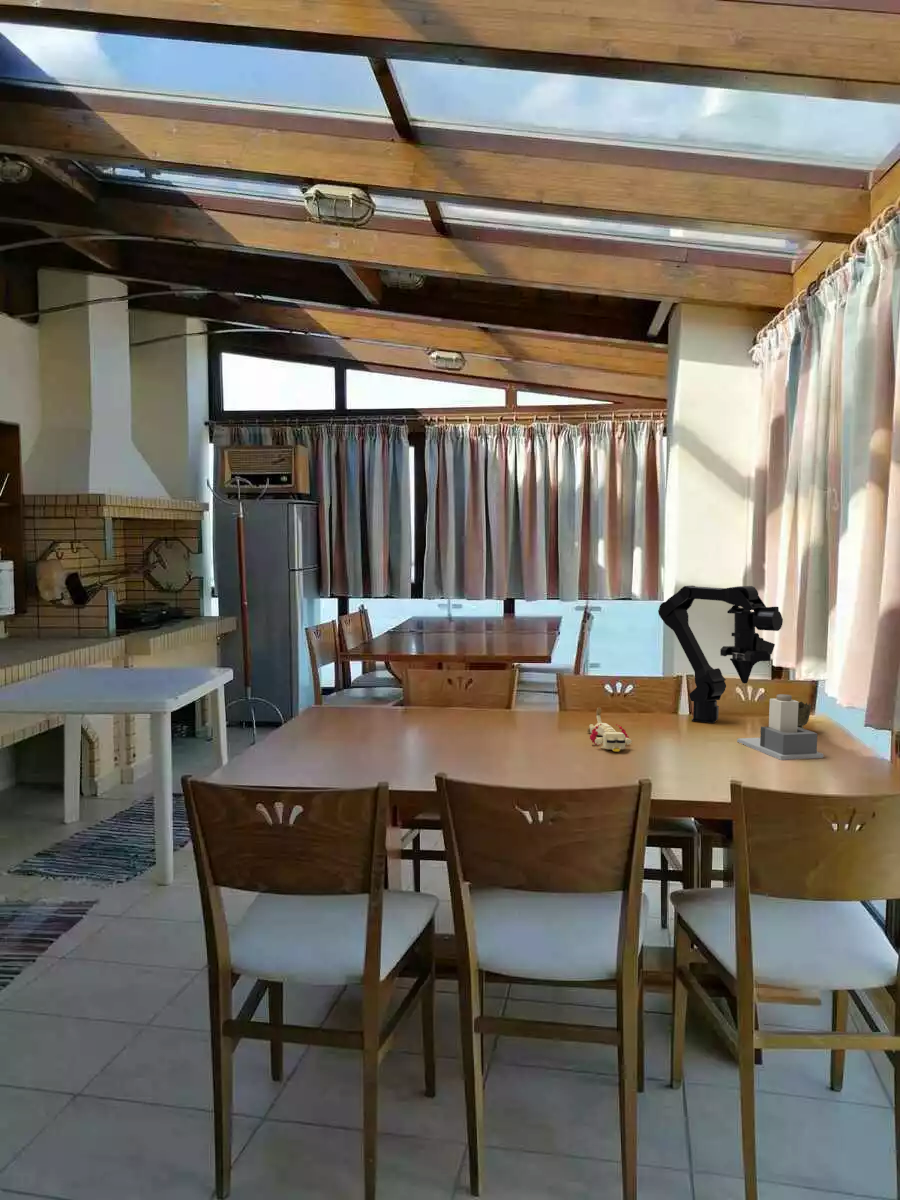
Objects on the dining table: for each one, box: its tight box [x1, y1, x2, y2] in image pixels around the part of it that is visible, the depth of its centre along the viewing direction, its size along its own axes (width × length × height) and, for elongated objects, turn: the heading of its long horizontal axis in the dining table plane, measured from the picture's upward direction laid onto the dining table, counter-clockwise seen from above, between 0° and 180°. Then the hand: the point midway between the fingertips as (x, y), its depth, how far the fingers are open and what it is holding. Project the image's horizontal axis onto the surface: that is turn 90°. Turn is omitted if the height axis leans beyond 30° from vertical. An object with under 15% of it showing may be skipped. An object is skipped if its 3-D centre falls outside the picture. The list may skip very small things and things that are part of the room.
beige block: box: [768, 693, 799, 733], centre depth 233 cm, size 5×5×13 cm
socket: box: [736, 726, 824, 761], centre depth 235 cm, size 20×12×6 cm, turn 13°
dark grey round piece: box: [798, 701, 812, 729], centre depth 259 cm, size 8×7×8 cm
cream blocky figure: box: [587, 707, 633, 752], centre depth 240 cm, size 10×9×25 cm
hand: (744, 683), depth 261 cm, fingers closed
